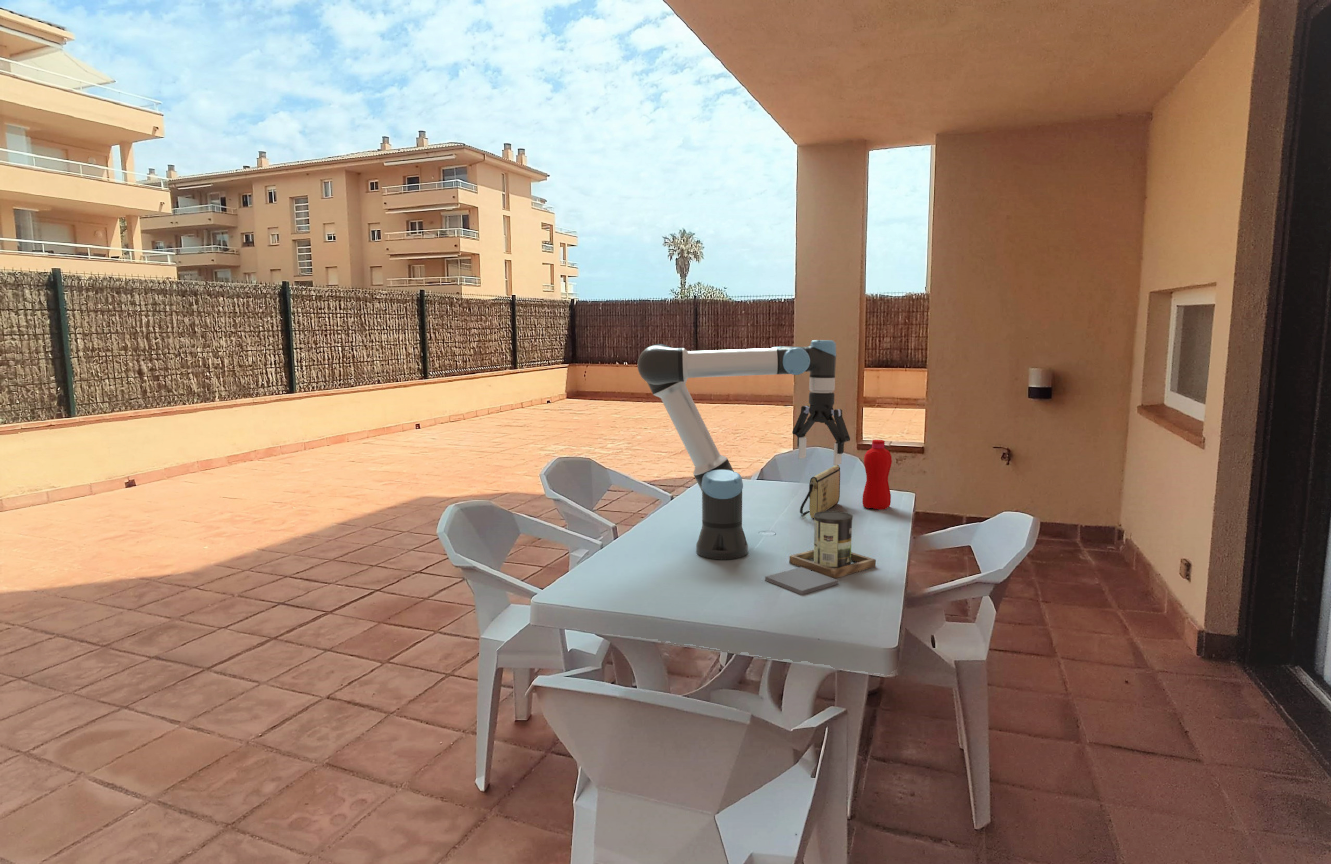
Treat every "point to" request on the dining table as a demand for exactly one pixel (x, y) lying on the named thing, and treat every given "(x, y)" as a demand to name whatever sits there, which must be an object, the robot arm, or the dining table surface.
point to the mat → (801, 580)
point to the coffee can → (832, 538)
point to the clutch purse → (823, 491)
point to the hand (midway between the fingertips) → (819, 461)
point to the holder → (833, 573)
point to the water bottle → (877, 476)
